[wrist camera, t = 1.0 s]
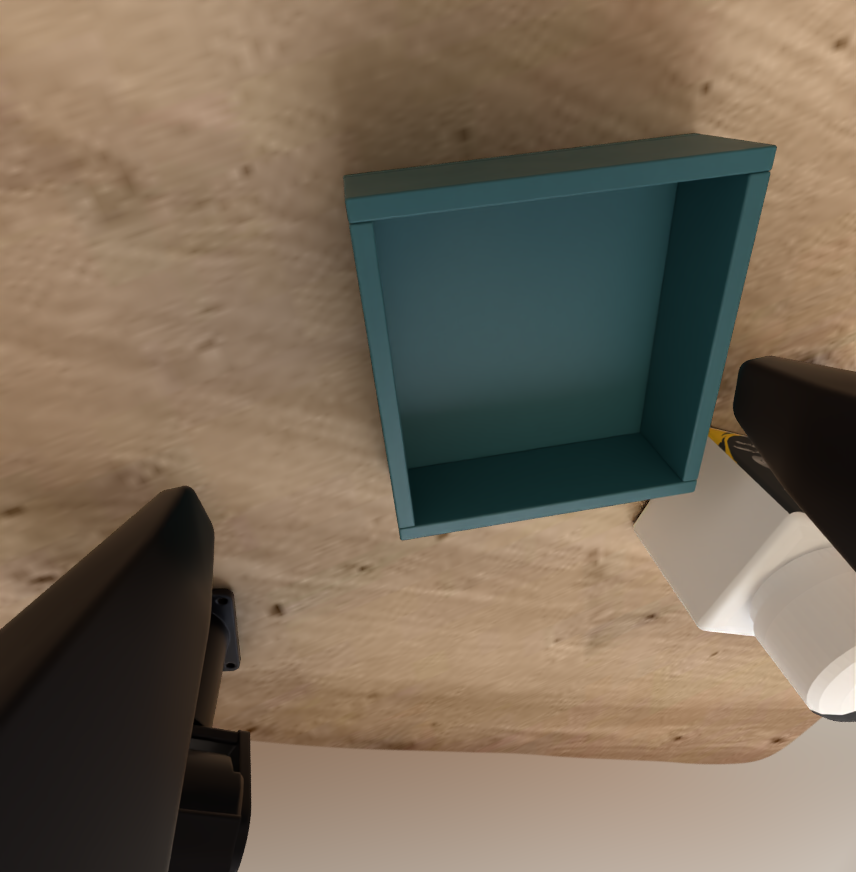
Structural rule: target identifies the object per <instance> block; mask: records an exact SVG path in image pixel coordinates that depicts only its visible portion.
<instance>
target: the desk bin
mask: <svg viewBox="0 0 856 872" xmlns="http://www.w3.org/2000/svg"><path fill="white" fill-rule="evenodd" d="M776 149H777V146H775V145H770V144H764V143H757V142H750V141H743V140H737V139H730V138H723V137H717V136H710V135H703V134H697V133H692V134H684V135H675V136H667V137H659V138H650V139H642V140H634V141H625V142H617V143H609V144H600V145H592V146H584V147H575V148H567V149H559V150H550V151H542V152H534V153H526V154H517V155H509V156H501V157H492V158H484V159H476V160H467V161H459V162H451V163H442V164H434V165H426V166H417V167H409V168H401V169H392V170H384V171H376V172H367V173H359V174H351V175H344V177H343V179H344V194H345V204H346V210H347V216H348V221H349V229H350V235H351V241H352V247H353V253H354V259H355V265H356V271H357V277H358V284H359V290H360V296H361V302H362V308H363V314H364V320H365V326H366V332H367V339H368V345H369V351H370V357H371V363H372V369H373V375H374V381H375V387H376V394H377V400H378V406H379V412H380V418H381V424H382V430H383V436H384V442H385V449H386V455H387V461H388V467H389V473H390V479H391V485H392V491H393V497H394V504H395V510H396V516H397V522H398V528H399V534H400V539H401V540H408V539H414V538H420V537H426V536H432V535H438V534H444V533H450V532H456V531H462V530H468V529H474V528H480V527H486V526H492V525H498V524H504V523H510V522H516V521H522V520H529V519H535V518H541V517H547V516H553V515H559V514H565V513H571V512H577V511H583V510H589V509H595V508H601V507H607V506H613V505H619V504H625V503H631V502H637V501H643V500H649V499H655V498H661V497H667V496H673V495H679V494H685V493H691V492H694V491H695V488H696V484H697V479H698V475H699V471H700V467H701V463H702V458H703V454H704V450H705V446H706V442H707V437H708V433H709V429H710V425H711V421H712V416H713V412H714V408H715V404H716V400H717V395H718V391H719V387H720V383H721V379H722V375H723V370H724V366H725V362H726V358H727V354H728V349H729V345H730V341H731V337H732V333H733V328H734V324H735V320H736V316H737V312H738V307H739V303H740V299H741V295H742V291H743V286H744V282H745V278H746V274H747V270H748V266H749V261H750V257H751V253H752V249H753V245H754V240H755V236H756V232H757V228H758V224H759V219H760V215H761V211H762V207H763V203H764V198H765V194H766V190H767V186H768V182H769V177H770V172H769V170H771V169H772V166H773V161H774V157H775V153H776Z"/></svg>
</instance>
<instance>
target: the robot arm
mask: <svg viewBox="0 0 856 872" xmlns="http://www.w3.org/2000/svg"><path fill="white" fill-rule="evenodd" d="M733 411H734V415H735V417H736V419H737V421H738V423H739V424H740V426H741V427H742V429H743V430H744V431H745V433H746V434H747V436H748V437H749V439H750V440H751V442H752V443H753V445H754V446H755V447H756V449H757V450H758V452H759V453H760V455H761V456H762V458H763V459H764V461H765V462H766V464H767V465H768V466H769V468H770V469H771V471H772V472H773V474H774V475H775V477H776V478H777V479H778V481H779V482H780V484H781V485H782V486H783V488H784V489H785V490H786V492H787V493H788V494H789V495H790V496H791V498H792V499H793V500H794V501H795V503H796V504H797V505H798V506H799V507H800V508H801V509H802V511H803V512H804V513H805V514H806V515H807V516H808V518H809V519H810V520H811V521H812V522H813V523H814V525H815V526H816V527H817V528H818V529H819V530H820V532H821V533H822V534H823V535H824V536H825V537H826V538H827V540H828V541H829V542H830V543H831V544H832V545H833V547H834V548H835V549H836V550H837V551H838V552H839V554H840V555H841V556H842V557H843V558H844V559H845V561H846V562H847V563H848V564H849V565H850V566H851V568H852V569H853V570H854V571H855V572H856V372H854V371H849V370H843V369H838V368H833V367H828V366H822V365H817V364H812V363H807V362H801V361H796V360H791V359H786V358H780V357H775V356H765V357H761V358H756V359H752V360H748V361H746V362H744V363H743V364H742V365H741V367H740V369H739V373H738V379H737V385H736V390H735V396H734V402H733ZM213 560H214V529H213V525H212V523H211V521H210V519H209V517H208V515H207V513H206V511H205V510H204V508H203V506H202V504H201V502H200V500H199V498H198V496H197V495H196V493H195V491H194V490H193V489H192V488H191V487H189V486H181V487H177V488H172V489H168V490H164V491H162V492H160V493H159V494H158V495H157V496H156V497H154V498H153V499H152V500H151V501H150V502H149V503H147V504H146V505H145V506H144V507H143V508H142V509H140V510H139V511H138V512H137V513H136V514H135V515H133V516H132V517H131V518H130V519H129V520H128V521H126V522H125V523H124V524H123V525H122V526H121V527H119V528H118V529H117V530H116V531H115V532H114V533H112V534H111V535H110V536H109V537H108V538H107V539H105V540H104V541H103V542H102V543H101V544H100V545H98V546H97V547H96V548H95V549H94V550H93V551H91V552H90V553H89V554H88V555H87V556H86V557H84V558H83V559H82V560H81V561H80V562H79V563H77V564H76V565H75V566H74V567H73V568H72V569H70V570H69V571H68V572H67V573H66V574H65V575H63V576H62V577H61V578H60V579H59V580H58V581H56V582H55V583H54V584H53V585H52V586H51V587H49V588H48V589H47V590H46V591H45V592H44V593H42V594H41V595H40V596H39V597H38V598H37V599H35V600H34V601H33V602H32V603H31V604H30V605H28V606H27V607H26V608H25V609H24V610H23V611H21V612H20V613H19V614H18V615H17V616H16V617H14V618H13V619H12V620H11V621H10V622H9V623H7V624H6V625H5V626H4V627H3V628H2V629H0V872H237V871H238V868H239V866H240V863H241V859H242V856H243V853H244V849H245V845H246V841H247V836H248V831H249V824H250V817H251V765H250V764H251V763H250V732H247V731H241V730H238V732H235V731H229V730H223V729H217V728H212V724H213V719H214V714H215V709H216V703H217V698H218V693H219V688H220V683H221V677H222V672H223V671H233V670H236V669H238V668H239V666H240V660H241V658H240V649H239V639H238V630H237V620H236V611H235V601H234V594H233V592H232V591H230V590H228V589H212V581H213ZM223 598H225V599H223Z"/></svg>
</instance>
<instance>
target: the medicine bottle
mask: <svg viewBox="0 0 856 872" xmlns="http://www.w3.org/2000/svg"><path fill="white" fill-rule="evenodd" d="M633 528H634V531H635V533H636V534H637V536H638V537H639V539H640V540H641V542H642V543H643V545H644V546H645V548H646V549H647V551H648V552H649V554H650V556H651V557H652V559H653V560H654V562H655V563H656V565H657V566H658V568H659V569H660V571H661V572H662V574H663V575H664V577H665V578H666V580H667V581H668V583H669V584H670V586H671V587H672V589H673V590H674V592H675V593H676V595H677V596H678V598H679V599H680V601H681V602H682V604H683V605H684V607H685V608H686V610H687V611H688V613H689V614H690V616H691V617H692V619H693V620H694V622H695V623H696V625H697V627H699V628H700V629H701V630H704V631H712V632H721V633H730V634H739V635H748V636H755V637H756V638H757V640H758V641H759V643H760V644H761V645H762V647H763V648H764V649H765V651H766V652H767V653H768V654H769V656H770V657H771V658H772V660H773V661H774V662H775V664H776V665H777V666H778V668H779V669H780V670H781V672H782V673H783V674H784V676H785V677H786V678H787V680H788V681H789V682H790V684H791V685H792V686H793V688H794V689H795V690H796V692H797V693H798V694H799V696H800V697H801V698H802V700H803V701H804V702H805V704H806V705H807V706H808V708H809V709H810V710H811V711H812V712H813V713H815V714H817V715H819V716H822V717H824V718H827V719H830V720H833V721H839V722H854V721H855V722H856V572H855V571H854V570H853V569H852V568H851V566H850V565H849V564H848V563H847V562H846V561H845V559H844V558H843V557H842V556H841V555H840V554H839V552H838V551H837V550H836V549H835V548H834V547H833V545H832V544H831V543H830V542H829V541H828V540H827V538H826V537H825V536H824V535H823V534H822V533H821V532H820V530H819V529H818V528H817V527H816V526H815V525H814V523H813V522H812V521H811V520H810V519H809V518H808V516H807V515H806V514H805V513H804V512H803V511H802V509H801V508H800V507H799V506H798V505H797V504H796V503H795V501H794V500H793V499H792V498H791V496H790V495H789V494H788V493H787V492H786V490H785V489H784V488H783V486H782V485H781V484H780V482H779V481H778V479H777V478H776V477H775V475H774V474H773V472H772V471H771V469H770V468H769V466H768V465H767V464H766V462H765V461H764V459H763V458H762V456H761V455H760V453H759V452H758V450H757V449H756V447H755V446H754V445H753V443H752V442H751V440H750V439H749V437H747V436H743V435H739V434H735V433H731V432H727V431H723V430H719V429H714V428H710V429H709V433H708V437H707V442H706V446H705V450H704V454H703V458H702V463H701V467H700V471H699V475H698V479H697V484H696V488H695V491H694V492H691V493H685V494H679V495H673V496H667V497H661V498H655V499H651V500H650V501H649V503H648V504H647V506H646V507H645V509H644V510H643V512H642V513H641V515H640V516H639V518H638V519H637V521H636V522H635V524H634V526H633Z"/></svg>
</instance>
